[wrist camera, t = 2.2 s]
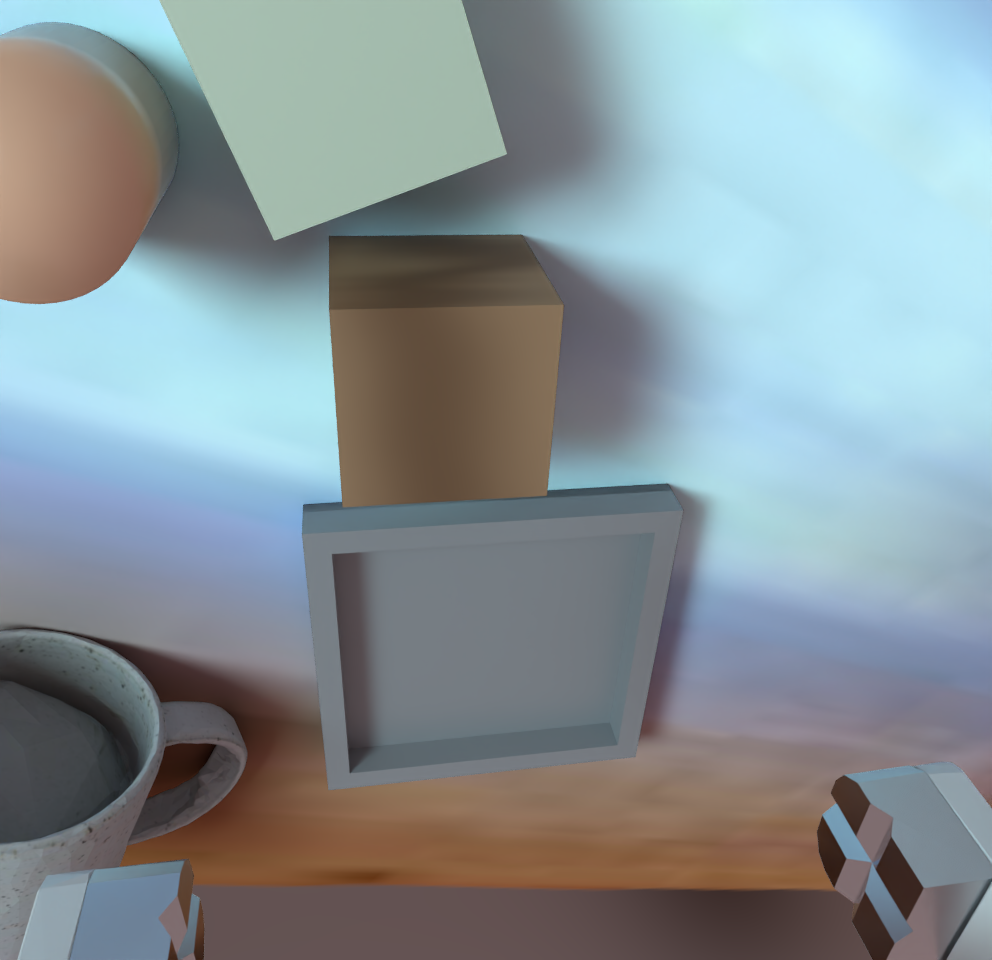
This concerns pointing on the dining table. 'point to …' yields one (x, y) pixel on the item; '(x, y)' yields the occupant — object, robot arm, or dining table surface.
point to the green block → (339, 98)
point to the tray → (486, 630)
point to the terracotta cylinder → (76, 159)
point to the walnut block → (442, 367)
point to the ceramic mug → (90, 764)
